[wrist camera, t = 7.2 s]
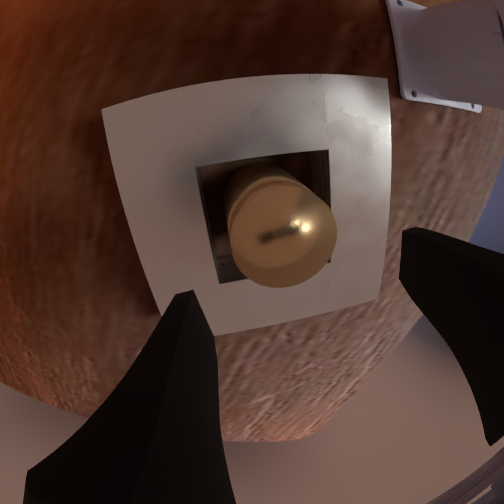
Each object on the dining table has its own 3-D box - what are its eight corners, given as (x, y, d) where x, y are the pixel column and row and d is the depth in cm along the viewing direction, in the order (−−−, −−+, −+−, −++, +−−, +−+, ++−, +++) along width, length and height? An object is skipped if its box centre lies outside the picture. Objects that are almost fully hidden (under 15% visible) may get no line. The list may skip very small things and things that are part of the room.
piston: (285, 151, 15) (326, 174, 10) (303, 218, 17) (343, 267, 12) (212, 176, 15) (214, 212, 10) (237, 241, 17) (251, 301, 12)
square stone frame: (359, 81, 14) (387, 78, 11) (359, 275, 20) (378, 298, 18) (120, 109, 13) (101, 109, 10) (175, 312, 19) (172, 341, 17)
